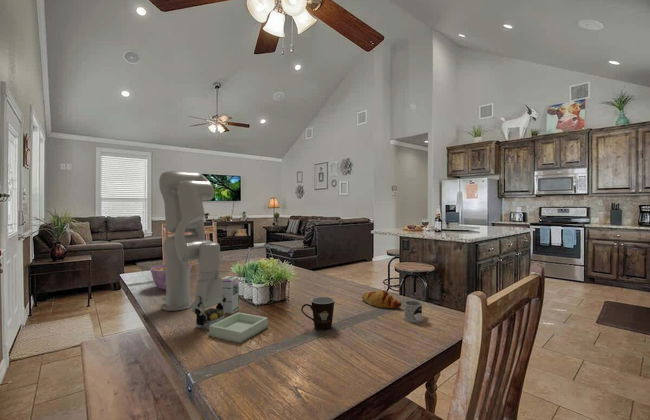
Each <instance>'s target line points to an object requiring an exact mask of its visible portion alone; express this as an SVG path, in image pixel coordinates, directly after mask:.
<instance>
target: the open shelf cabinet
mask: <svg viewBox="0 0 650 420" xmlns="http://www.w3.org/2000/svg"><path fill="white" fill-rule="evenodd" d="M213 313H215V314H217V315H218V319H215V320H213V321H211V320H210V316H211V314H213ZM203 314H204V325H203V326H201V325H197V318H196V319H195V328H199V329H202V330H203V329H204V330H208V331H209V326H210V325H212V324H214V323H216V322H219V321H221V320H223V319H225V318H226V317H225V313H224V310H221V309H216V307H215V308H213V307H208V308H205V310H204V312H203Z"/></svg>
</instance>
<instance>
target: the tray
mask: <svg viewBox="0 0 650 420" xmlns="http://www.w3.org/2000/svg"><path fill="white" fill-rule="evenodd" d="M267 328H269V317H266V316H262V315H261V316H260V315H254V314H249V313H244V312H235V313H233V314H231V315H230V316H226V317H225V319H223V320H221V321H219V322H216V323H214V324H212V325H210V326H209V330H208V331H209V333H208V335H209V336H210V337H212V338H213V337H214V338H217V339H221V340H226V341H230V342H234V343H238V344H242V343H244V342H246V341H248V340H250V339H251V338H252V337H254V336H256V335H257V334H259V333H261V332H262V331H265V329H266V330H267Z"/></svg>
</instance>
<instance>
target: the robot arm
mask: <svg viewBox="0 0 650 420" xmlns="http://www.w3.org/2000/svg"><path fill="white" fill-rule="evenodd" d="M158 183H159V184H158V185H159V190H160V194H161V196H162V198H163V203H164V218H165V221H164V222H165V227H166V230H167V232H169V233H173V234H174V235H172V236H169V237H167V238H166V239H165V240H164V241H163V245H162V248H163V253H164V260H165V265H166V290H165V293H166V294H165V296H163V297H162V298H161V300H162V301H165V303H164V304H163V305H162V309H163V310H164V311H166V312H167V311H168V312H174V311H175V312H177V311H178V312H179V311H184V310H187V309H190V308H191V310H192V313H194V315H196V319H197V325H201V326H203V325H204V314H203V312H204V310H206V309H209V308H212V307H213V306H215V309H221V310H223V306H224V305H225V304H224V303H225V301H226V297H227V293H226V292H224V291H223V286H222V280H221V279H222V277H221V273H222V270H221V245H220V244H219V242H215V241H214V242H213V241H212V240H208V239H206V234H205V233H206V232H205V220H204V218H205V216H206V213H205V209H204V204H203V201H207V202H208V201H211V200H212V199H213V198H214V196H215V189H214V186H213V184H212V183H211V181H210V180H209V179H208V178H207V177H205V176H204V174H202V173H200V172H195V171H193V172H192V171H181V170H179V171H178V170H170V171H164V172H162V173H161V174H160V176H159V182H158ZM185 233H191V234H185ZM193 261H198V279H199V280H197V282H196V287H195V297H194V298H195V299H194V301H193V300H191V284H190V283H191V279H190V278H191V277H190V275H191V270H190V268H189V265H190V264H189V263H188V262H193Z"/></svg>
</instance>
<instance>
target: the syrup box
mask: <svg viewBox="0 0 650 420" xmlns="http://www.w3.org/2000/svg"><path fill="white" fill-rule="evenodd" d="M221 280H222V286H223V291H224V292H226V293H227V297H226V301H225V303H224V304H225V305H224V306H223V310H224V314H227V315H228V314H231V315H234V314H235V313H237V311H239V310H240V293H239V291H240V289H239V288H240V287H239V283H240V282H239V276H237V275H236V276H235V275H226V276H225V277H221Z"/></svg>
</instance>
